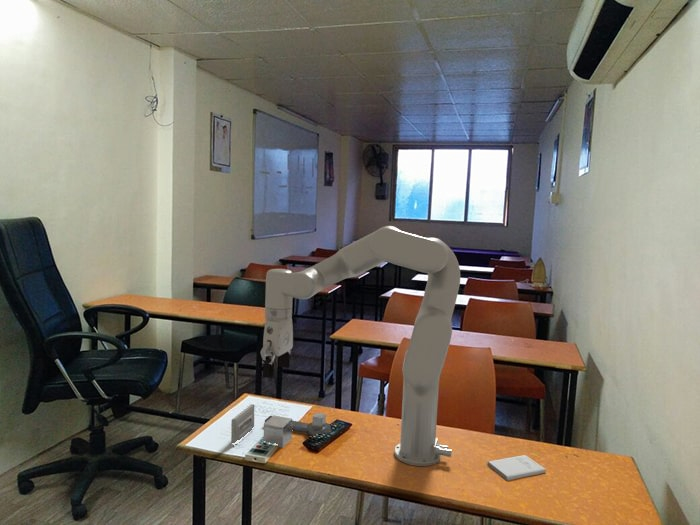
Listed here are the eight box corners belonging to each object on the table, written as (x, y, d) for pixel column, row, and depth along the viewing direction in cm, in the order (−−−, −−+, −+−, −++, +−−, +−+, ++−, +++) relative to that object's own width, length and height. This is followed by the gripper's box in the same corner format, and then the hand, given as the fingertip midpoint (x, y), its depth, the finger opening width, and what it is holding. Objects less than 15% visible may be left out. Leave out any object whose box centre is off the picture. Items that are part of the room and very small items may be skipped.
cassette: (250, 428, 149) (250, 403, 149) (255, 429, 149) (256, 404, 148) (229, 446, 138) (229, 419, 137) (235, 447, 137) (235, 420, 137)
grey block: (291, 438, 144) (292, 418, 143) (282, 447, 138) (283, 427, 137) (273, 434, 145) (273, 415, 145) (263, 443, 140) (263, 423, 139)
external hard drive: (487, 466, 133) (524, 459, 137) (507, 482, 125) (545, 474, 130) (487, 460, 133) (524, 453, 137) (507, 476, 125) (546, 468, 130)
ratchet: (262, 428, 149) (262, 410, 149) (272, 419, 156) (273, 402, 155) (325, 440, 143) (326, 421, 142) (333, 430, 150) (334, 412, 149)
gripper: (276, 320, 129) (274, 383, 131) (303, 309, 146) (301, 365, 148) (250, 317, 132) (249, 379, 134) (280, 306, 148) (278, 361, 150)
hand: (276, 371), depth 141 cm, fingers open, 9 cm apart
